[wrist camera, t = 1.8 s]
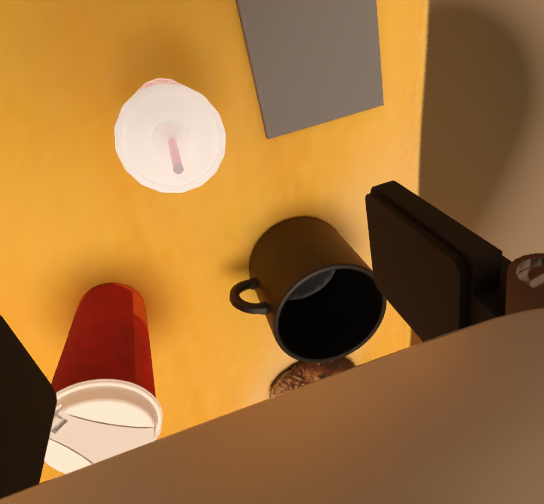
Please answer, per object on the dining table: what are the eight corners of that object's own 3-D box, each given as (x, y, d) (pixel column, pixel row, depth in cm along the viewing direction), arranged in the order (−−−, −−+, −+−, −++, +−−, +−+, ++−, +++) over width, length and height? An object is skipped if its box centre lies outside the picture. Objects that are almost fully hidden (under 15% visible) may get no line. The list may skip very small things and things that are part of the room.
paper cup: (46, 318, 37) (0, 461, 25) (101, 256, 35) (81, 376, 24) (123, 355, 41) (115, 495, 29) (175, 301, 39) (189, 424, 28)
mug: (218, 223, 37) (238, 277, 29) (347, 210, 40) (396, 257, 32) (222, 311, 41) (241, 378, 34) (337, 295, 44) (378, 353, 36)
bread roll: (365, 344, 49) (383, 381, 45) (345, 403, 55) (360, 439, 51) (270, 353, 46) (281, 392, 42) (261, 414, 53) (270, 452, 49)
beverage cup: (154, 167, 33) (160, 251, 21) (102, 94, 30) (75, 146, 18) (221, 126, 33) (265, 188, 21) (176, 49, 30) (199, 71, 18)
